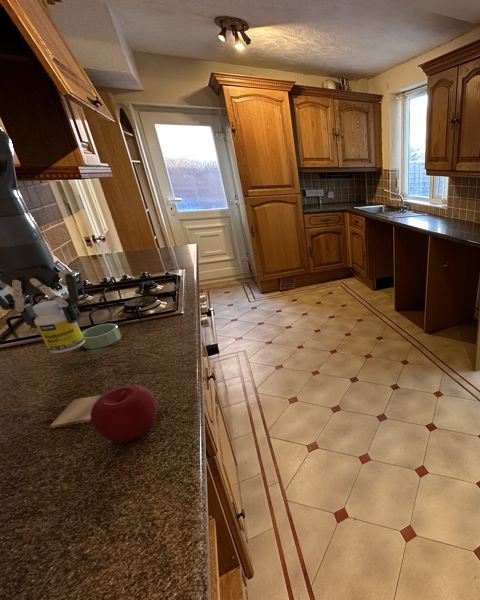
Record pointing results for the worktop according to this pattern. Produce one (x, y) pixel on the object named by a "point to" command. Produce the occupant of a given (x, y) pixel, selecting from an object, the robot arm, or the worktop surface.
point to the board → (76, 412)
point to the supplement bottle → (56, 327)
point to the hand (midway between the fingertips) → (56, 323)
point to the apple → (124, 413)
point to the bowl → (101, 337)
